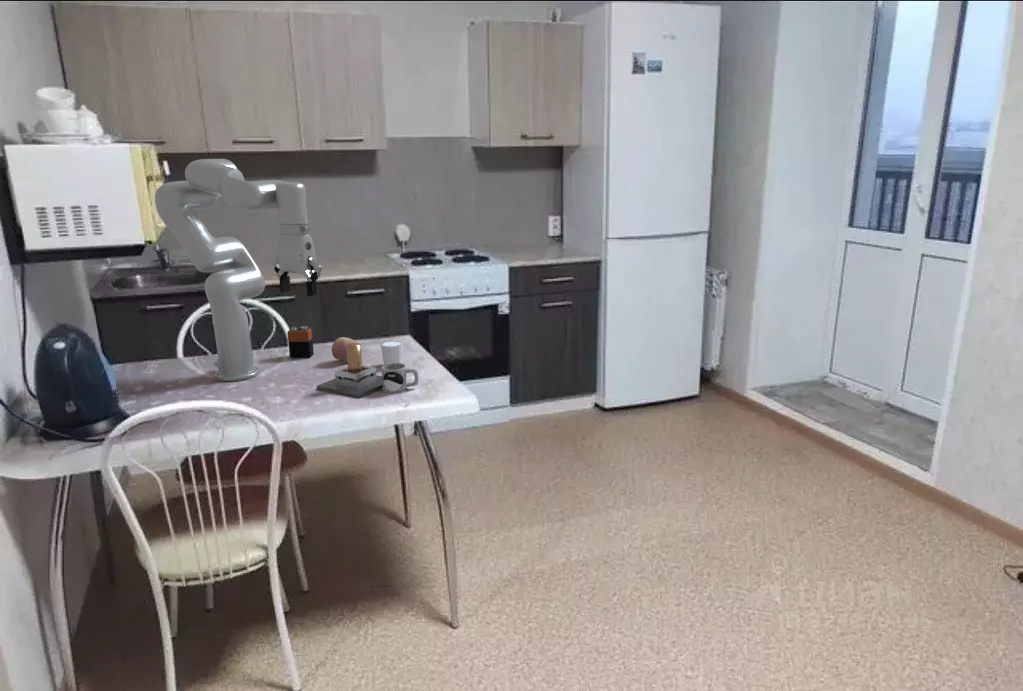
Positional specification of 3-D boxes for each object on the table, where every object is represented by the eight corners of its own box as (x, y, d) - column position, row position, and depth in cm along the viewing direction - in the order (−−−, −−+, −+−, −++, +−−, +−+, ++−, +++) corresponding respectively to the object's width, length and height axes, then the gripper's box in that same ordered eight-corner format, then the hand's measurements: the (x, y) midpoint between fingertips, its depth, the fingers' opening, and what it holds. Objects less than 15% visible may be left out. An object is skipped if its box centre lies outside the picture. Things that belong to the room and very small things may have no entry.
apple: (354, 365, 220) (352, 340, 218) (330, 365, 220) (328, 341, 218) (360, 358, 228) (358, 334, 226) (336, 358, 228) (334, 334, 226)
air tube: (356, 378, 204) (353, 342, 201) (367, 380, 202) (364, 343, 199) (345, 383, 200) (343, 345, 197) (356, 385, 198) (354, 347, 196)
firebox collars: (316, 389, 199) (315, 372, 198) (353, 374, 212) (352, 358, 210) (360, 398, 191) (358, 381, 190) (395, 382, 204) (394, 366, 202)
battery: (310, 358, 228) (307, 328, 226) (289, 358, 228) (286, 328, 226) (314, 354, 233) (311, 325, 230) (293, 354, 233) (290, 325, 230)
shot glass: (405, 361, 223) (404, 340, 221) (403, 368, 216) (401, 346, 214) (383, 362, 223) (382, 340, 221) (380, 369, 216) (379, 347, 214)
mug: (381, 393, 195) (379, 370, 193) (384, 385, 201) (383, 363, 199) (417, 392, 195) (416, 369, 193) (420, 384, 201) (418, 362, 200)
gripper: (328, 230, 186) (332, 294, 191) (280, 226, 194) (285, 287, 199) (307, 234, 180) (312, 299, 185) (259, 229, 188) (265, 292, 193)
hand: (298, 293), depth 192 cm, fingers open, 9 cm apart
